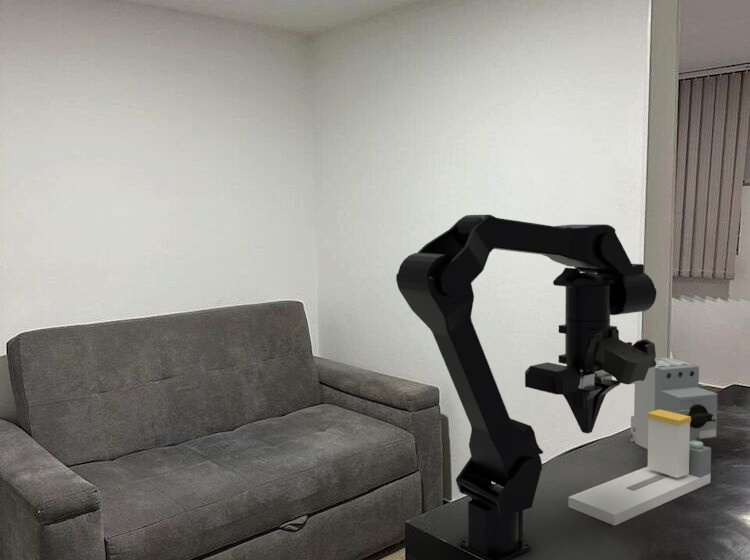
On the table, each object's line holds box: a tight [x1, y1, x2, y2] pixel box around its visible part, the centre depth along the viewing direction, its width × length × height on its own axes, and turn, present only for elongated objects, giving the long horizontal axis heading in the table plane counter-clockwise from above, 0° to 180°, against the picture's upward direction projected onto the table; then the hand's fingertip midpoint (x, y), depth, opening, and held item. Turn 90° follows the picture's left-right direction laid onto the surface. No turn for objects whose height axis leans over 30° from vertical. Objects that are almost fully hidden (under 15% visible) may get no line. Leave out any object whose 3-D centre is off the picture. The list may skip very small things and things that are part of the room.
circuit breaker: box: [630, 357, 718, 450], centre depth 120 cm, size 8×14×15 cm, turn 15°
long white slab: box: [567, 440, 712, 526], centre depth 102 cm, size 24×8×6 cm, turn 126°
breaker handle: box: [647, 409, 691, 478], centre depth 106 cm, size 3×5×9 cm, turn 36°
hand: (586, 432), depth 94 cm, fingers closed
